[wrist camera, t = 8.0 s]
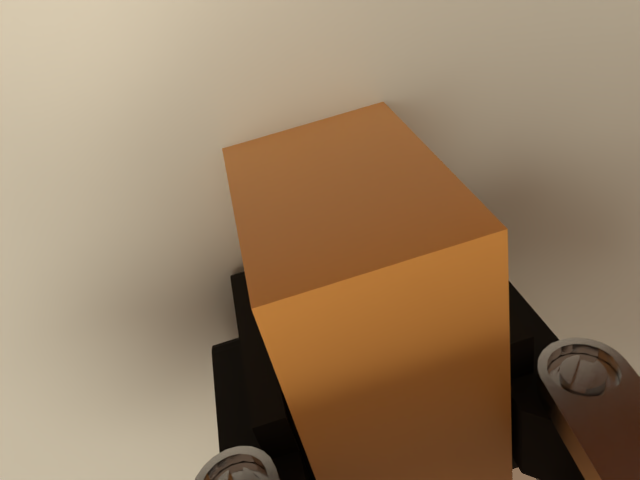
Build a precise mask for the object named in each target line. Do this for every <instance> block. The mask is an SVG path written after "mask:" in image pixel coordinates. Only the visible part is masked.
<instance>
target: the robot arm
mask: <svg viewBox="0 0 640 480" xmlns="http://www.w3.org/2000/svg"><path fill="white" fill-rule="evenodd" d="M230 278H231V286H232V293H233V300H234V307H235V314H236V321H237V328H238V335H239V337H238V338H235V339H232V340H229V341H226V342H223V343H219V344H216V345H213V346H212V365H213V378H214V390H215V403H216V415H217V428H218V440H219V454H217V455H215V456H214V457H213V458H211V459H210V460H209V461H208V462H207V463H206V464H205V465H204V466H203V467H202V469H201V470H200V472H199V473H198V475H197V476H196V478H195V480H316V478H315V476H314V473H313V470H312V468H311V465H310V462H309V460H308V457H307V455H306V452H305V449H304V447H303V444H302V441H301V439H300V436H299V433H298V431H297V428H296V425H295V423H294V420H293V418H292V415H291V412H290V410H289V407H288V404H287V402H286V399H285V396H284V394H283V391H282V389H281V386H280V383H279V381H278V378H277V375H276V373H275V370H274V367H273V365H272V362H271V360H270V357H269V354H268V352H267V349H266V346H265V344H264V341H263V338H262V336H261V333H260V331H259V328H258V325H257V323H256V320H255V317H254V315H253V312H252V309H251V304H250V299H249V294H248V288H247V283H246V277H245V272H244V271H243V272H240V273H237V274H234V275H231V276H230ZM509 326H510V380H511V434H512V469H514V468H517V467H519V469H520V471H521V472H522V473H523V474H526V475H529V476H531V477H534V478H536V479H537V480H640V377H639V375H638V374H637V373H636V372H635V370H634V369H633V368H632V367H631V365H630V364H629V363H628V362H627V360H626V359H625V358H624V357H623V356H622V355H621V354H620V353H619V352H618V351H616V350H615V349H613V348H612V347H610V346H608V345H606V344H604V343H602V342H599V341H595V340H592V339H587V338H576V337H575V338H567V339H561V340H559V339H558V338H557V336H556V335H555V334H554V333H553V332H552V331H551V329H550V328H549V327H548V326H547V325H546V324H545V322H544V321H543V320H542V319H541V318H540V316H539V315H538V314H537V313H536V312H535V311H534V309H533V308H532V307H531V306H530V305H529V304H528V302H527V301H526V300H525V299H524V298H523V296H522V295H521V294H520V293H519V292H518V291H517V289H516V288H515V287H514V286H513V285H512V284H511V282H510V281H509Z"/></svg>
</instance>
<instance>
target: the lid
mask: <svg viewBox="0 0 640 480" xmlns="http://www.w3.org/2000/svg"><path fill="white" fill-rule="evenodd" d="M243 271H244V272H245V277H246V283H247V288H248V294H249V299H250V304H251V309H252V312H253V315H254V317H255V320H256V323H257V325H258V328H259V331H260V333H261V336H262V338H263V341H264V344H265V346H266V349H267V352H268V354H269V357H270V360H271V362H272V365H273V367H274V370H275V373H276V375H277V378H278V381H279V383H280V386H281V389H282V391H283V394H284V396H285V399H286V402H287V404H288V407H289V410H290V412H291V415H292V418H293V420H294V423H295V425H296V428H297V431H298V433H299V436H300V439H301V441H302V444H303V447H304V449H305V452H306V455H307V457H308V460H309V462H310V465H311V468H312V470H313V473H314V476H315V478H316V480H512V434H511V380H510V326H509V281H510V282H511V284H512V285H513V286H514V287H515V288H516V289H517V291H518V292H519V293H520V294H521V295H522V296H523V298H524V299H525V300H526V301H527V302H528V304H529V305H530V306H531V307H532V308H533V309H534V311H535V312H536V313H537V314H538V315H539V316H540V318H541V319H542V320H543V321H544V322H545V324H546V325H547V326H548V327H549V328H550V329H551V331H552V332H553V333H554V334H555V335H556V336H557V338H558V339H559V340H561V339H567V338H575V337H576V338H587V339H592V340H595V341H599V342H602V343H604V344H606V345H608V346H610V347H612V348H613V349H615V350H616V351H618V352H619V353H620V354H621V355H622V356H623V357H624V358H625V359H626V360H627V362H628V363H629V364H630V365H631V367H632V368H633V369H634V370H635V372H636V373H637V374H638V375H639V377H640V0H0V480H195V478H196V476H197V475H198V473H199V472H200V470H201V469H202V467H203V466H204V465H205V464H206V463H207V462H208V461H209V460H210V459H211V458H213V457H214V456H215V455H217V454H219V440H218V428H217V415H216V403H215V390H214V378H213V365H212V346H213V345H216V344H219V343H223V342H226V341H229V340H232V339H235V338H238V337H239V335H238V328H237V321H236V314H235V307H234V300H233V293H232V286H231V278H230V276H231V275H234V274H237V273H240V272H243Z"/></svg>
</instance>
